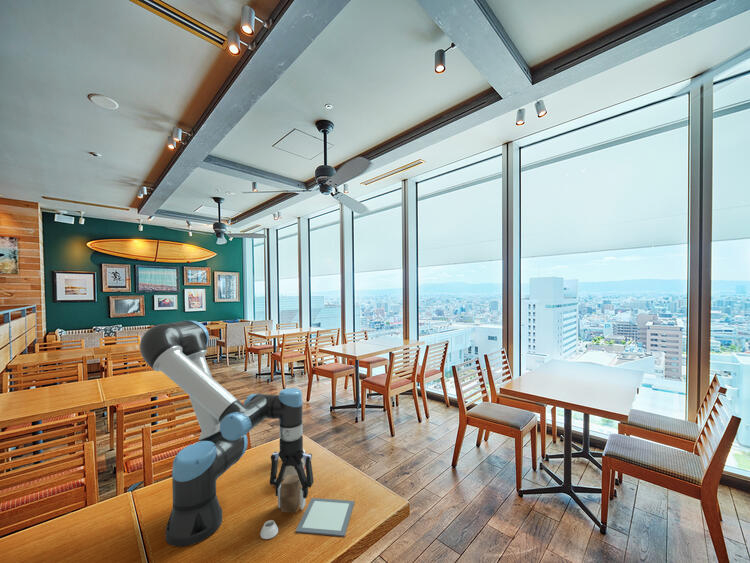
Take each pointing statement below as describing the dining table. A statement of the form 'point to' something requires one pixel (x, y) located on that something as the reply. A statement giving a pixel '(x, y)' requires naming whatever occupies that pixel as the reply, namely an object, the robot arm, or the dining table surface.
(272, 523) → the lidless jar
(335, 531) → the coaster
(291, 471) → the teacup with lid
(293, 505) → the block
